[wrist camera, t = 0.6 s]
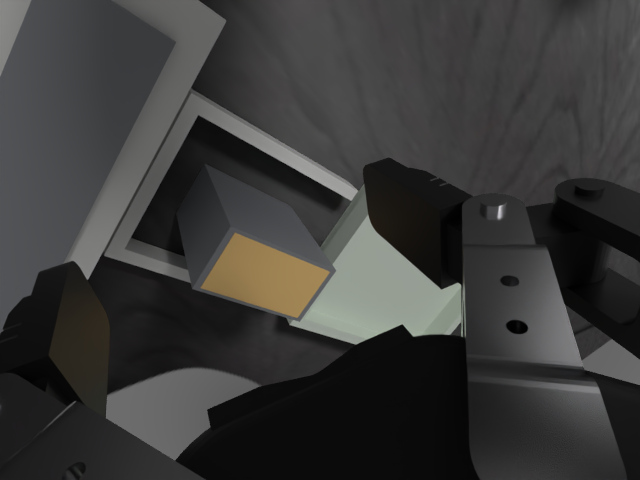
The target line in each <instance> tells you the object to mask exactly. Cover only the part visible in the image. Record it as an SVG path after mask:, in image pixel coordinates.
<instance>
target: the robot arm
mask: <svg viewBox="0 0 640 480" xmlns="http://www.w3.org/2000/svg"><path fill="white" fill-rule="evenodd" d="M363 177H364V185H365V193H366V201H367V210H368V216H369V219H370V222H371V224H372V226H373V228H374V230H375V231H376V232H377V233H378V234H379V235H380V236H381V237H382V238H384V239H385V240H386V241H387V242H388V243H389V244H390V245H392V246H393V247H394V248H395V249H396V250H397V251H398V252H399V253H401V254H402V255H403V256H404V257H405V258H406V259H407V260H408V261H410V262H411V263H412V264H413V265H414V266H415V267H416V268H417V269H419V270H420V271H421V272H422V273H423V274H424V275H425V276H427V277H428V278H429V279H430V280H431V281H432V282H433V283H434V284H436V285H437V286H438V287H439V288H440V289H441V290H442V289H444V288H447V287H449V286H451V285H454V284H456V283H459V284H460V285H461V336H456V335H446V334H429V335H420V336H414V337H413V336H412V334H411V333H410V332H409V331H408V330H407V329H406V328H405V327H404V325H403V324H402V325H399V326H397V327H395V328H392V329H390V330H388V331H386V332H383V333H381V334H379V335H376V336H374V337H372V338H370V339H367V340H365V341H363V342H360V343H358V344H357V345H356V346H354V347H353V348H351V349H350V350H349V351H347V352H346V353H345V354H343V355H342V356H341V357H339V358H338V359H336V360H335V361H334V362H332V363H331V364H330V365H328V366H327V367H325V368H324V369H323V370H321V371H320V372H318V373H316V374H314V375H311V376H307V377H302V378H297V379H293V380H288V381H284V382H279V383H274V384H270V385H265V386H261V387H258V388H256V389H253V390H251V391H249V392H247V393H244V394H242V395H240V396H238V397H235V398H233V399H231V400H228V401H226V402H224V403H222V404H219V405H217V406H214V407H212V408H210V409H208V410H207V411H208V416H209V421H210V426H211V427H210V428H209V429H208V430H206V431H205V432H204V433H202V434H201V435H200V436H199V437H198V438H197V439H195V440H194V441H193V442H192V443H191V444H190V445H189V446H188V447H187V448H186V449H185V450H184V451H183V452H182V453H181V454H180V456H179V457H178V458H177V459H176V460H175V461H174V460H173V459H171V458H169V457H168V456H166V455H165V454H163V453H161V452H160V451H158V450H157V449H155V448H153V447H152V446H150V445H148V444H147V443H145V442H144V441H142V440H140V439H139V438H137V437H135V436H134V435H132V434H130V433H129V432H127V431H126V430H124V429H122V428H121V427H119V426H118V425H116V424H114V423H112V422H111V421H109V420H108V419H106V401H107V400H106V399H107V382H108V363H109V344H110V325H109V320H108V317H107V314H106V312H105V310H104V308H103V306H102V304H101V303H100V301H99V299H98V298H97V296H96V294H95V292H94V291H93V289H92V287H91V286H90V284H89V282H88V280H87V279H86V277H85V275H84V274H83V272H82V270H81V269H80V267H79V266H78V264H77V263H76V262H74V261H70V262H67V263H64V264H61V265H58V266H54V267H51V268H48V269H45V270H42V271H40V272H39V273H38V276H37V279H36V282H35V285H34V287H33V290H32V293H31V295H30V296H27V297H24V298H22V299H21V300H20V302H19V303H18V304H17V305H16V306H15V307H14V308H13V309H12V310H11V312H10V313H9V314H8V316H7V319H6V321H5V324H4V326H3V331H2V332H1V334H0V480H640V385H637V384H633V383H629V382H626V381H622V380H619V379H615V378H612V377H608V376H604V375H601V374H597V373H593V372H590V371H586V370H584V368H583V364H582V361H581V358H580V355H579V351H578V348H577V345H576V341H575V338H574V335H573V331H572V328H571V325H570V321H569V318H568V315H567V311H566V308H565V305H567V306H568V307H569V308H571V309H572V310H573V311H575V312H576V313H578V314H579V315H580V316H582V317H583V318H584V319H586V320H587V321H588V322H590V323H591V324H593V325H594V326H595V327H597V328H598V329H599V330H601V331H602V332H603V333H605V334H606V335H607V336H609V337H610V338H612V339H613V340H614V341H616V342H617V343H618V344H620V345H621V346H622V347H624V348H625V349H626V350H628V351H629V352H631V353H632V354H633V355H635V356H636V357H637V358H639V359H640V286H639V285H637V284H635V283H634V282H632V281H630V280H629V279H627V278H625V277H623V276H622V275H620V274H618V273H617V272H615V271H613V270H611V269H610V268H608V265H609V260H610V256H611V252H612V248H613V247H614V248H616V249H618V250H619V251H621V252H623V253H625V254H627V255H629V256H631V257H633V258H634V259H636V260H637V261H639V262H640V193H637V192H635V191H632V190H630V189H627V188H625V187H622V186H620V185H617V184H615V183H612V182H609V181H605V180H600V179H592V178H578V179H571V180H567V181H564V182H561V183H560V184H558V185H557V186H556V188H555V193H554V200H553V203H547V204H541V205H535V206H529V207H526V206H525V204H524V203H523V202H522V201H521V200H520V199H518V198H516V197H513V196H510V195H506V194H498V193H489V194H481V195H477V196H474V197H473V196H471V195H470V194H468V193H466V192H464V191H462V190H460V189H458V188H456V187H455V186H453V185H451V184H447V183H446V182H445V181H443V180H442V179H440V178H439V179H437V177H436V176H434V175H432V174H430V173H428V172H427V171H423V170H419V169H414V168H407V167H406V166H404V165H402V164H400V163H398V162H397V161H395V160H393V159H391V158H386V159H383V160H380V161H377V162H374V163H371V164H368V165H365V167H364V169H363ZM564 304H565V305H564Z"/></svg>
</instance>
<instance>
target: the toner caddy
mask: <svg viewBox="0 0 640 480" xmlns="http://www.w3.org/2000/svg"><path fill="white" fill-rule="evenodd" d="M176 215H177V220H178V225H179V229H180V234H181V239H182V244H183V248H184V253H185V258H186V263H187V267H188V272H189V277H190V282H191V286H192V289H194V290H197V291H200V292H204V293H207V294H210V295H213V296H217V297H220V298H223V299H227V300H230V301H233V302H236V303H240V304H243V305H246V306H249V307H253V308H256V309H259V310H263V311H266V312H269V313H272V314H276V315H279V316H282V317H286V318H289V319H292V320H295V321H299V322H300V321H301V319H302V318H303V317H304V315H305V314H306V312H307V311H308V310H309V308H310V307H311V305H312V304H313V303H314V301H315V300H316V298H317V297H318V296H319V294H320V293H321V291H322V290H323V289H324V287H325V286H326V284H327V283H328V282H329V280H330V279H331V277H332V276H333V275H334V273H335V272H336V269H335V268H334V266H333V265H332V264H331V262H330V261H329V259H328V258H327V257H326V255H325V254H324V252H323V251H322V250H321V248H320V247H319V246H318V244H317V243H316V241H315V240H314V239H313V237H312V236H311V234H310V233H309V232H308V230H307V229H306V227H305V226H304V225H303V223H302V222H301V220H300V219H299V218H298V216H297V215H296V213H295V212H294V211H293V209H292V208H291V206H289V205H287V204H285V203H283V202H281V201H279V200H277V199H275V198H273V197H271V196H269V195H267V194H265V193H263V192H261V191H259V190H257V189H255V188H253V187H251V186H249V185H247V184H245V183H243V182H241V181H239V180H237V179H235V178H233V177H231V176H229V175H227V174H225V173H223V172H221V171H219V170H217V169H215V168H213V167H211V166H209V165H207V164H205V163H204V165H203V167H202V168H201V170H200V172H199V174H198V175H197V177H196V179H195V181H194V182H193V184H192V186H191V188H190V189H189V191H188V193H187V195H186V196H185V198H184V200H183V202H182V203H181V205H180V207H179V209H178V210H177V212H176Z"/></svg>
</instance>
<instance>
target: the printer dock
mask: <svg viewBox="0 0 640 480" xmlns="http://www.w3.org/2000/svg"><path fill="white" fill-rule="evenodd" d="M225 23H226V20H225V19H224V18H222V17H221V16H219V15H218V14H217V13H215V12H214V11H213V10H211V9H210V8H208V7H207V6H206V5H204V4H203V3H202V2H200V1H199V0H0V334H1V332H2V331H3V326H4V324H5V321H6V319H7V316H8V314H9V313H10V312H11V310H12V309H13V308H14V307H15V306H16V305H17V304H18V303H19V302H20V300H21V299H22V298H24V297H27V296H30V295H31V293H32V290H33V287H34V285H35V282H36V279H37V276H38V273H39V272H40V271H42V270H45V269H48V268H51V267H54V266H58V265H61V264H64V263H67V262H70V261H74V262H76V263H77V264H78V266H79V267H80V269H81V270H82V272H83V274H84V275H85V277H86V279H87V280H88V279H89V277H90V275H91V273H92V271H93V269H94V268H95V266H96V264H97V262H98V260H99V258H100V256H101V255H102V253H103V251H104V256H106V257H110V258H113V259H116V260H119V261H122V262H125V263H129V264H132V265H135V266H138V267H141V268H145V269H148V270H151V271H154V272H157V273H161V274H164V275H167V276H170V277H173V278H176V279H180V280H183V281H186V282H189V283H191V282H190V277H189V272H188V267H187V263H186V258H185V257H184V256H181V255H179V254H176V253H173V252H170V251H167V250H164V249H161V248H158V247H156V246H153V245H150V244H147V243H144V242H141V241H138V240H135V239H133V238H131V236H132V234H133V233H134V231H135V229H136V227H137V225H138V224H139V222H140V220H141V218H142V216H143V214H144V213H145V211H146V209H147V207H148V205H149V204H150V202H151V200H152V198H153V196H154V194H155V193H156V191H157V189H158V187H159V185H160V184H161V182H162V180H163V178H164V176H165V174H166V173H167V171H168V169H169V167H170V165H171V164H172V162H173V160H174V158H175V156H176V154H177V153H178V151H179V149H180V147H181V145H182V144H183V142H184V140H185V138H186V136H187V134H188V133H189V131H190V129H191V127H192V125H193V124H194V122H195V120H196V118H197V116H198V115H199V116H201V117H203V118H205V119H206V120H208V121H210V122H212V123H214V124H215V125H217V126H219V127H221V128H222V129H224V130H226V131H228V132H230V133H231V134H233V135H235V136H237V137H239V138H240V139H242V140H244V141H246V142H247V143H249V144H251V145H253V146H255V147H256V148H258V149H260V150H262V151H263V152H265V153H267V154H269V155H271V156H272V157H274V158H276V159H278V160H280V161H281V162H283V163H285V164H287V165H288V166H290V167H292V168H294V169H296V170H297V171H299V172H301V173H303V174H304V175H306V176H308V177H310V178H312V179H313V180H315V181H317V182H319V183H321V184H322V185H324V186H326V187H328V188H329V189H331V190H333V191H335V192H337V193H338V194H340V195H342V196H344V197H345V198H347V199H349V200H351V201H352V199H353V198H354V196H355V195H356V193H357V192H358V190H357V189H356V188H355V187H353V186H352V185H351V184H350V183H349V182H348V181H346V180H345V179H343V178H341V177H339V176H338V175H336V174H334V173H333V172H331V171H329V170H328V169H326V168H324V167H323V166H321V165H319V164H318V163H316V162H314V161H312V160H311V159H309V158H307V157H306V156H304V155H302V154H301V153H299V152H297V151H296V150H294V149H292V148H291V147H289V146H287V145H285V144H284V143H282V142H280V141H279V140H277V139H275V138H274V137H272V136H270V135H269V134H267V133H265V132H264V131H262V130H260V129H259V128H257V127H255V126H253V125H252V124H250V123H248V122H247V121H245V120H243V119H242V118H240V117H238V116H237V115H235V114H233V113H232V112H230V111H228V110H226V109H225V108H223V107H221V106H220V105H218V104H216V103H215V102H213V101H211V100H210V99H208V98H206V97H205V96H203V95H201V94H200V93H198V92H196V91H194V90H193V89H191V87H192V85H193V83H194V81H195V79H196V77H197V75H198V73H199V72H200V70H201V68H202V66H203V64H204V62H205V60H206V59H207V57H208V55H209V53H210V51H211V49H212V47H213V45H214V44H215V42H216V40H217V38H218V36H219V34H220V32H221V31H222V29H223V27H224V25H225Z"/></svg>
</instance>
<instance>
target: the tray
mask: <svg viewBox="0 0 640 480" xmlns="http://www.w3.org/2000/svg"><path fill="white" fill-rule="evenodd" d="M320 248H321V250H322V251H323V252H324V254H325V255H326V257H327V258H328V259H329V261H330V262H331V264H332V265H333V266H334V268H335V269H336V272H335V273H334V275H333V276H332V277H331V279H330V280H329V282H328V283H327V284H326V286H325V287H324V289H323V290H322V291H321V293H320V294H319V296H318V297H317V298H316V300H315V301H314V303H313V304H312V305H311V307H310V308H309V310H308V311H307V312H306V314H305V315H304V317H303V318H302V319H301V321H300V322H299V321H295V320H292V319H289V318H287V320H288V322H289V325H292V326H295V327H298V328H302V329H305V330H308V331H312V332H315V333H319V334H322V335H325V336H329V337H332V338H336V339H339V340H342V341H346V342H349V343H352V344H356V345H357V344H358V343H360V342H363V341H365V340H367V339H370V338H372V337H374V336H376V335H379V334H381V333H383V332H386V331H388V330H390V329H392V328H395V327H397V326H399V325H402V324H403V325H404V327H405V328H406V329H407V330H408V331H409V332H410V333H411V334H412V336H413V337H414V336H420V335H429V334H446V335H450V334H451V333H452V332H453V331H454V329H455V328H456V327H457V326H458V325H459V323H460V322H461V285H460V284H459V283H456V284H454V285H451V286H449V287H447V288H444V289H442V290H441V289H440V288H439V287H438V286H437V285H436V284H434V283H433V282H432V281H431V280H430V279H429V278H428V277H427V276H425V275H424V274H423V273H422V272H421V271H420V270H419V269H417V268H416V267H415V266H414V265H413V264H412V263H411V262H410V261H408V260H407V259H406V258H405V257H404V256H403V255H402V254H401V253H399V252H398V251H397V250H396V249H395V248H394V247H393V246H392V245H390V244H389V243H388V242H387V241H386V240H385V239H384V238H382V237H381V236H380V235H379V234H378V233H377V232H376V231H375V230H374V228H373V226H372V224H371V222H370V219H369V216H368V210H367V201H366V193H365V185H364V184H363V186H362V187H361V189H360V190H359V192H358V193H357V194H356V196H355V197H354V199H353V200H352V202H351V203H350V205H349V206H348V207H347V209H346V210H345V212H344V213H343V215H342V216H341V218H340V219H339V220H338V222H337V223H336V225H335V226H334V228H333V229H332V231H331V232H330V233H329V235H328V236H327V238H326V239H325V241H324V242H323V244H322V245H321V246H320Z"/></svg>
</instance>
